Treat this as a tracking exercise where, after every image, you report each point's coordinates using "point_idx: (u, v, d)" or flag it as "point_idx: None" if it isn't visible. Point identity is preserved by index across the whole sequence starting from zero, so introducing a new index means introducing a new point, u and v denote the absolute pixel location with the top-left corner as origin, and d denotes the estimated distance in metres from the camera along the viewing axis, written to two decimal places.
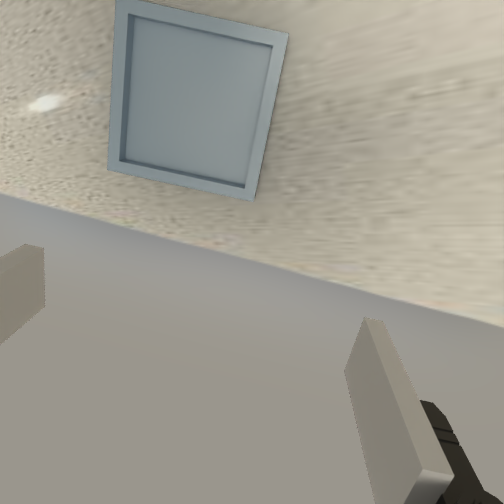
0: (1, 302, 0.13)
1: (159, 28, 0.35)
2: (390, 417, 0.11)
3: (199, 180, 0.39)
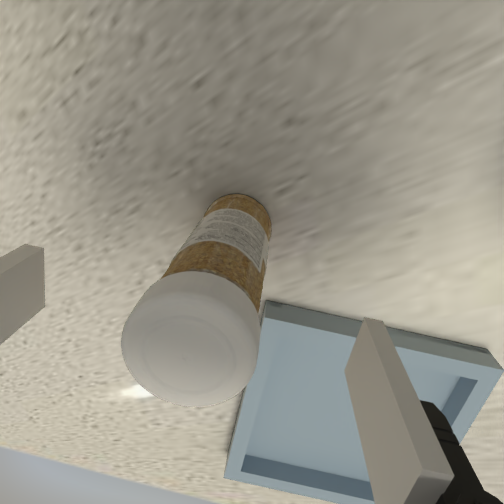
0: (1, 302, 0.13)
1: None
2: (390, 417, 0.11)
3: (345, 495, 0.30)
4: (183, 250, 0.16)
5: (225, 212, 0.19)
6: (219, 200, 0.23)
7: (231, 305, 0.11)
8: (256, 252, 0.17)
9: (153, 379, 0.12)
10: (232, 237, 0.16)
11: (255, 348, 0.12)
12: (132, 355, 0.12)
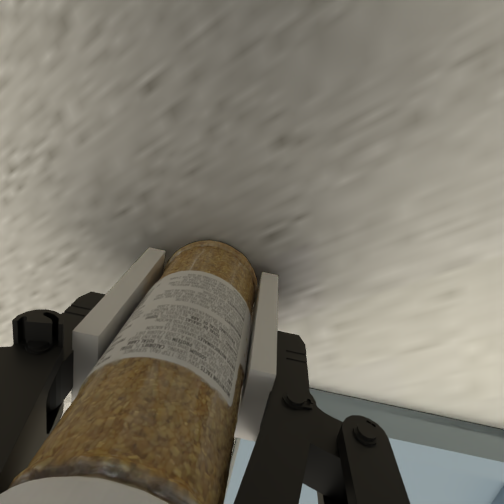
0: None
1: None
2: (251, 341, 0.12)
3: None
4: (97, 372, 0.09)
5: (185, 280, 0.13)
6: (184, 249, 0.16)
7: None
8: (226, 361, 0.10)
9: None
10: (186, 342, 0.10)
11: None
12: None
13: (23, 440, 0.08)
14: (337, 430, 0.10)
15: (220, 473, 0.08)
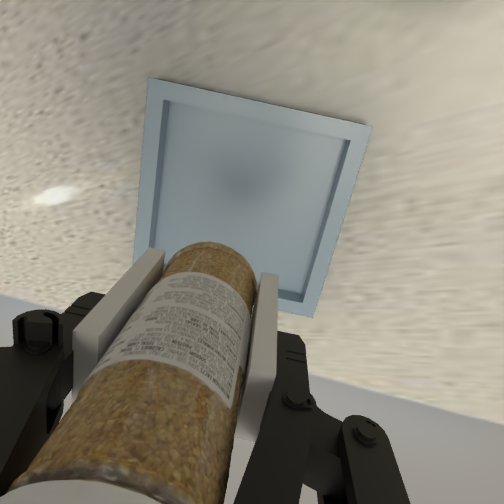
0: None
1: (201, 113, 0.28)
2: (251, 342, 0.12)
3: None
4: (97, 374, 0.09)
5: (184, 281, 0.13)
6: (183, 251, 0.16)
7: None
8: (226, 363, 0.10)
9: None
10: (185, 344, 0.10)
11: None
12: None
13: (23, 440, 0.08)
14: (337, 430, 0.10)
15: (220, 476, 0.08)
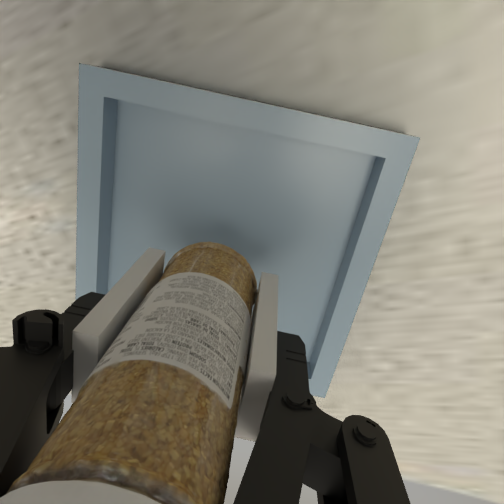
0: None
1: (164, 117, 0.19)
2: (251, 342, 0.12)
3: None
4: (97, 375, 0.09)
5: (184, 281, 0.13)
6: (183, 251, 0.16)
7: None
8: (226, 363, 0.10)
9: None
10: (185, 344, 0.10)
11: None
12: None
13: (23, 440, 0.08)
14: (337, 430, 0.10)
15: (220, 476, 0.08)
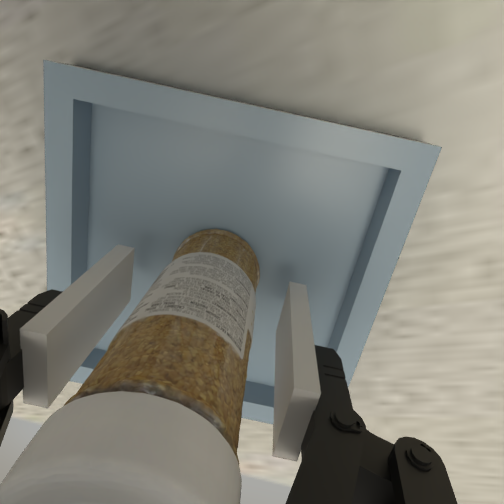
0: (109, 296, 0.14)
1: (146, 122, 0.17)
2: (288, 356, 0.12)
3: None
4: (126, 328, 0.10)
5: (196, 259, 0.14)
6: (192, 237, 0.18)
7: (185, 473, 0.06)
8: (237, 323, 0.12)
9: None
10: (201, 305, 0.11)
11: None
12: None
13: None
14: (388, 451, 0.10)
15: (236, 407, 0.09)
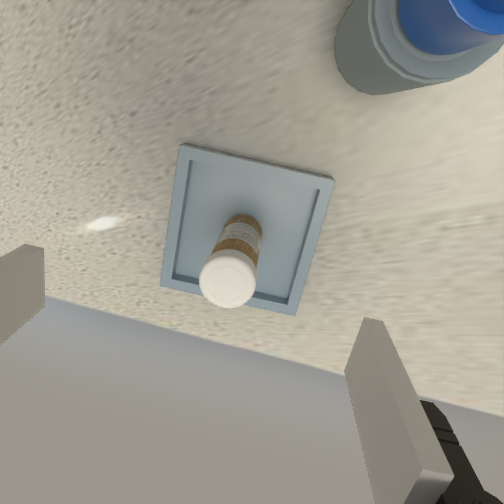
0: (1, 302, 0.13)
1: (215, 167, 0.39)
2: (390, 417, 0.11)
3: None
4: (220, 242, 0.33)
5: (238, 224, 0.36)
6: (233, 217, 0.40)
7: (246, 261, 0.28)
8: (254, 244, 0.34)
9: (212, 294, 0.29)
10: (243, 236, 0.33)
11: (255, 280, 0.29)
12: (204, 283, 0.29)
13: None
14: None
15: (255, 262, 0.31)
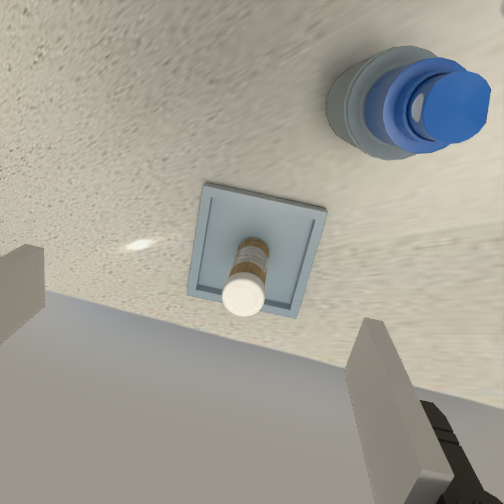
0: (1, 302, 0.13)
1: (231, 201, 0.48)
2: (390, 417, 0.11)
3: None
4: (236, 264, 0.42)
5: (250, 248, 0.46)
6: (245, 240, 0.49)
7: (257, 282, 0.38)
8: (263, 265, 0.43)
9: (231, 306, 0.39)
10: (254, 259, 0.43)
11: (264, 296, 0.38)
12: (225, 298, 0.38)
13: None
14: None
15: (264, 281, 0.41)
